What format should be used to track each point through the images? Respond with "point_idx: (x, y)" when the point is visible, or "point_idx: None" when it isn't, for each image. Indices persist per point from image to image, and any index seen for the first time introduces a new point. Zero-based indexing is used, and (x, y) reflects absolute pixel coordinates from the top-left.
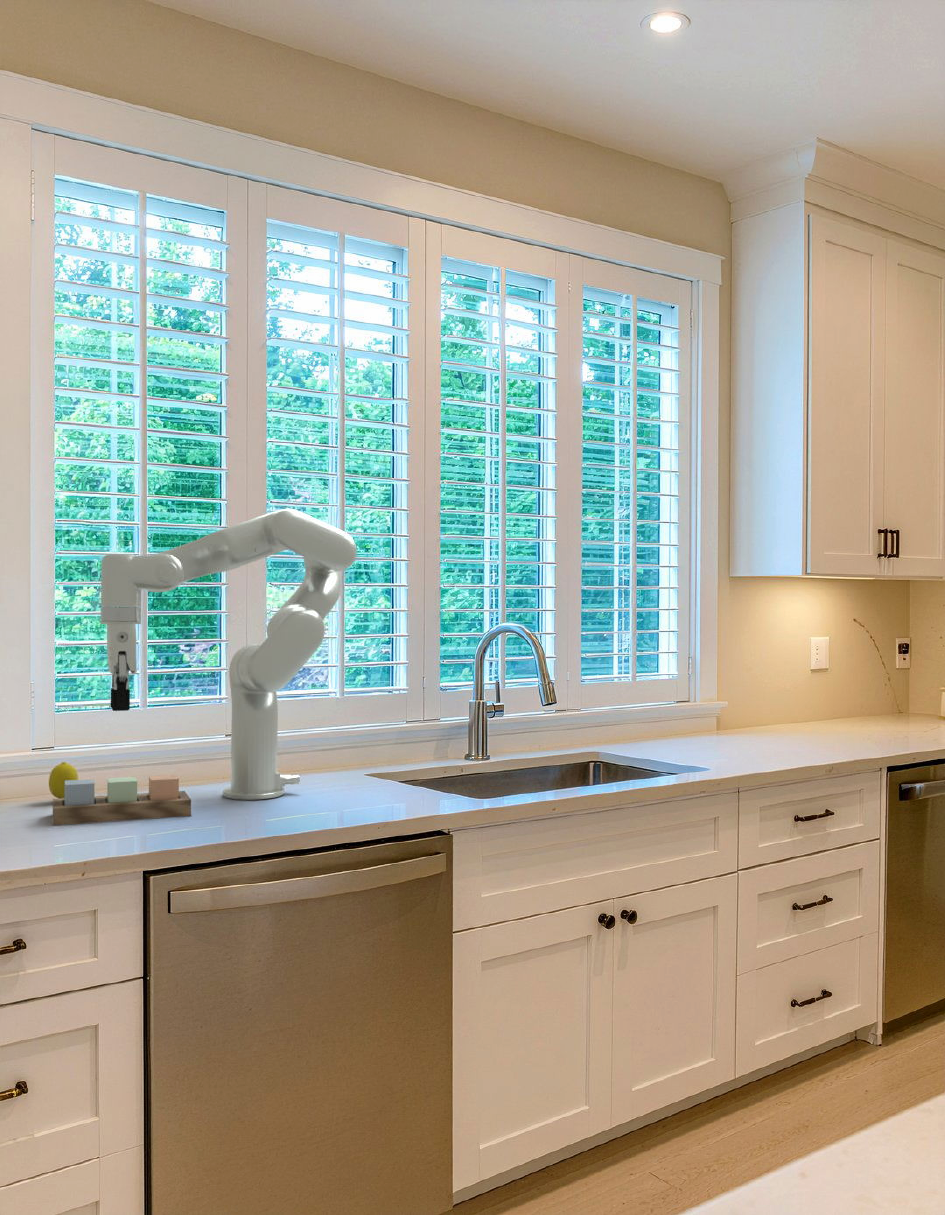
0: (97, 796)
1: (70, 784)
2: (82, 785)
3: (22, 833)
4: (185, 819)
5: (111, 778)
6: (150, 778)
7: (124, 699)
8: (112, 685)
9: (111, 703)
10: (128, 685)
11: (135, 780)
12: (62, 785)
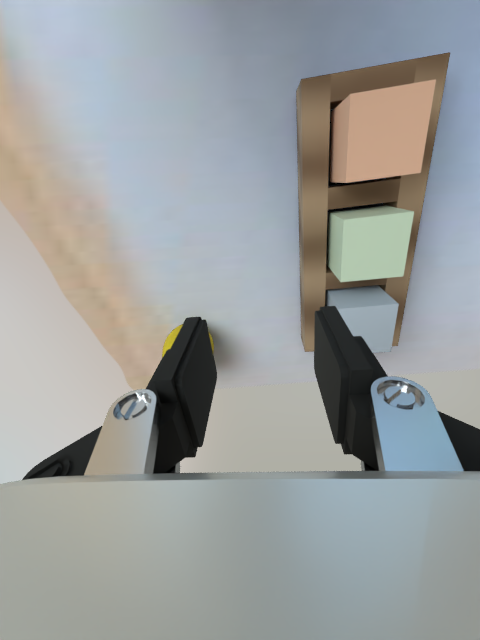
0: (308, 287)
1: (389, 343)
2: (394, 323)
3: (420, 361)
4: (459, 84)
5: (346, 273)
6: (389, 176)
7: (371, 358)
8: (179, 468)
9: (213, 389)
10: (431, 406)
11: (402, 216)
12: (213, 348)
